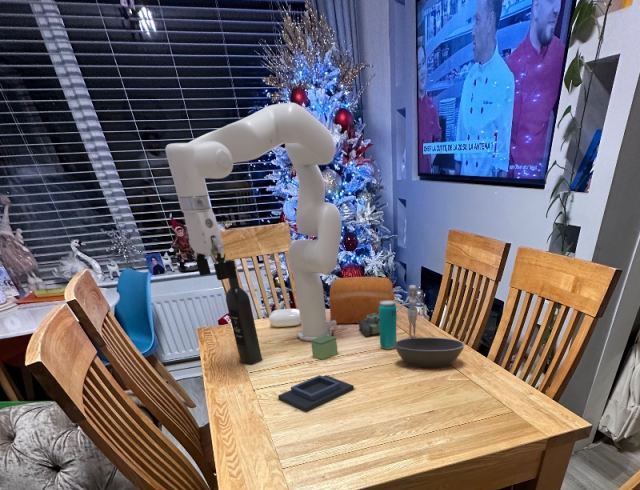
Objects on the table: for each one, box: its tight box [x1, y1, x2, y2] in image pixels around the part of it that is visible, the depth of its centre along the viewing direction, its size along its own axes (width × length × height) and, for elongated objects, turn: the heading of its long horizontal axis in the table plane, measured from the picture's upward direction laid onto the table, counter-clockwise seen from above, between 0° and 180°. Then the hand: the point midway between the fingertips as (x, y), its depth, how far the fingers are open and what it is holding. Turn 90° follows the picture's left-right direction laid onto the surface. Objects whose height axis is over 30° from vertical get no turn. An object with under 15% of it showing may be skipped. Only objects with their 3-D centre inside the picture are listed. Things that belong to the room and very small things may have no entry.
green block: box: [310, 335, 339, 361], centre depth 145 cm, size 7×5×6 cm
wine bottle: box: [225, 259, 263, 365], centre depth 135 cm, size 6×6×30 cm
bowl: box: [394, 337, 465, 369], centre depth 136 cm, size 12×22×6 cm, turn 83°
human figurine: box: [396, 284, 430, 339], centre depth 151 cm, size 12×4×18 cm, turn 93°
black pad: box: [277, 374, 355, 413], centre depth 122 cm, size 18×12×3 cm, turn 138°
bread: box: [329, 276, 395, 324], centre depth 172 cm, size 14×26×16 cm, turn 88°
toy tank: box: [358, 313, 380, 338], centre depth 162 cm, size 10×12×7 cm
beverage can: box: [379, 300, 398, 350], centre depth 146 cm, size 6×6×15 cm
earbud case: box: [268, 308, 301, 328], centre depth 172 cm, size 10×13×5 cm
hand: (214, 276), depth 122 cm, fingers open, 9 cm apart
